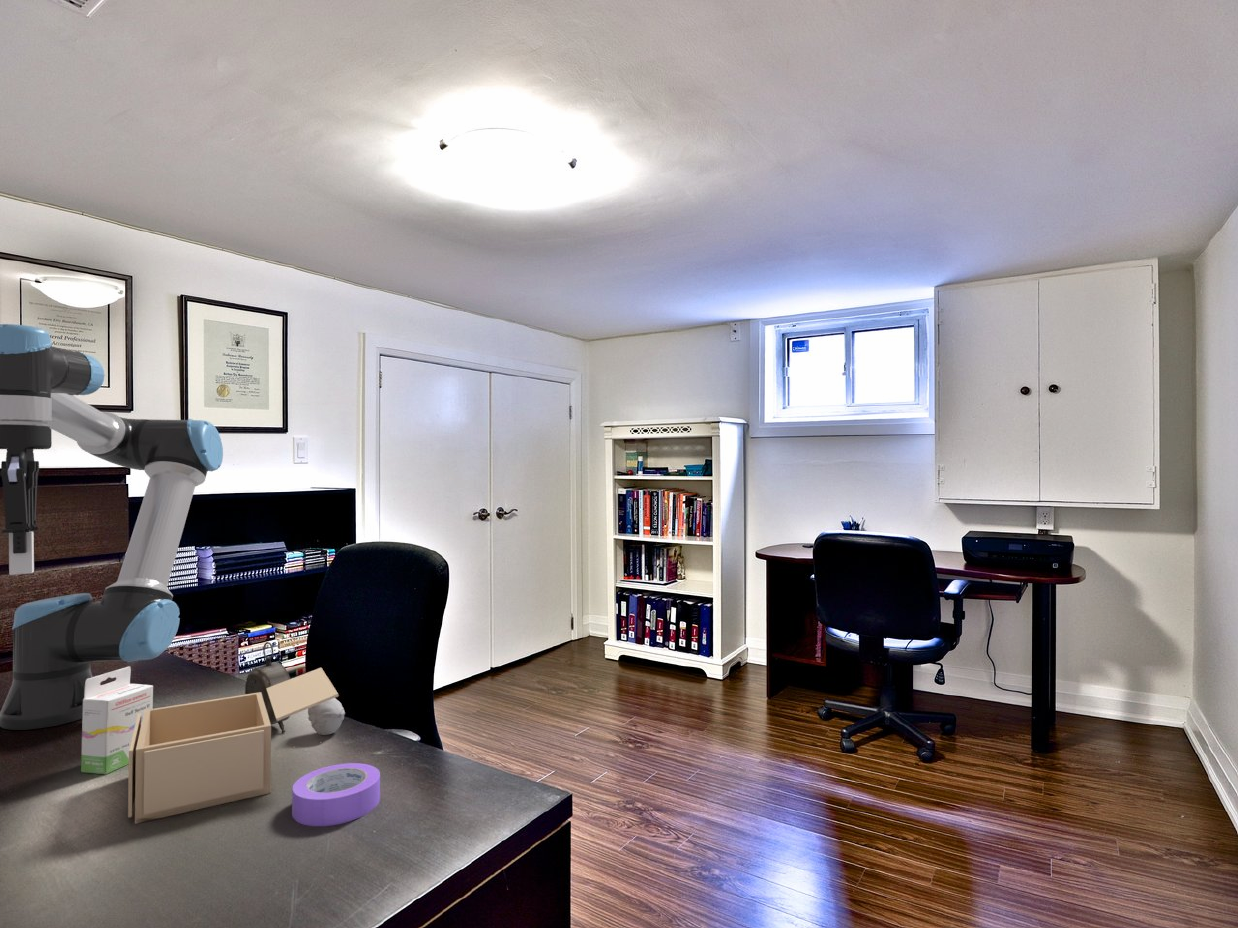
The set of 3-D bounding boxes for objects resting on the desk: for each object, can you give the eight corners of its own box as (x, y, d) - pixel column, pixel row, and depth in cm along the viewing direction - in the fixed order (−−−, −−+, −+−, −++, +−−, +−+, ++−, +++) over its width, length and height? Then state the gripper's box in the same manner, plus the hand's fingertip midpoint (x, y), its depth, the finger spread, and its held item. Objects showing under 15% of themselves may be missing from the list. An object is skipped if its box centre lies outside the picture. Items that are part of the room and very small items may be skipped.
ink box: (105, 775, 105) (106, 681, 105) (79, 772, 106) (81, 679, 106) (154, 753, 113) (155, 666, 114) (129, 750, 114) (130, 664, 114)
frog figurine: (329, 724, 126) (330, 687, 127) (352, 732, 123) (353, 694, 123) (299, 734, 121) (300, 696, 121) (322, 743, 118) (323, 703, 118)
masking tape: (284, 802, 97) (284, 775, 97) (366, 779, 104) (366, 755, 104) (302, 837, 88) (302, 807, 88) (391, 810, 95) (391, 783, 95)
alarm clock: (295, 732, 123) (296, 643, 123) (265, 741, 118) (266, 649, 119) (268, 718, 129) (269, 634, 130) (238, 726, 125) (239, 640, 125)
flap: (266, 688, 115) (321, 667, 119) (266, 690, 115) (321, 669, 119) (276, 718, 100) (338, 693, 105) (276, 721, 100) (338, 695, 105)
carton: (137, 772, 106) (138, 709, 106) (260, 748, 115) (260, 690, 115) (127, 827, 89) (128, 753, 90) (270, 794, 99) (271, 727, 99)
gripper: (-2, 425, 109) (-1, 569, 109) (-24, 421, 98) (-22, 582, 98) (57, 426, 113) (59, 565, 113) (43, 422, 102) (45, 576, 102)
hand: (21, 573), depth 105 cm, fingers closed
